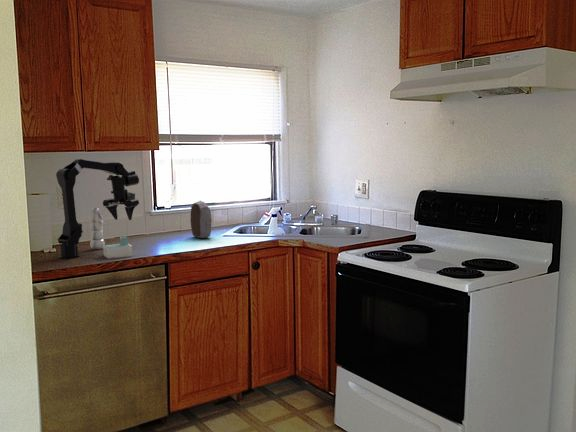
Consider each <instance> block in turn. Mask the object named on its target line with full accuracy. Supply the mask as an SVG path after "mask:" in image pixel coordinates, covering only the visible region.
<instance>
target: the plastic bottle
mask: <svg viewBox="0 0 576 432" xmlns="http://www.w3.org/2000/svg"><path fill="white" fill-rule="evenodd" d="M100 212H101V210H100V208H99V207H92V208H91V214H90V216H89V218H88V222H89V226H90V242H89V244H90V248H91V249H92V250H101V249H103V245H106V244H105V239H104V232H103V231H104V230H103V229H104V227H103V225H104V216H103V215H102V214H101V213H100Z"/></svg>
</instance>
